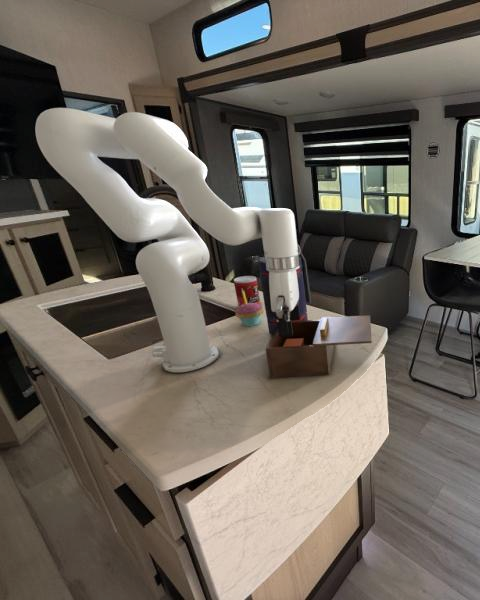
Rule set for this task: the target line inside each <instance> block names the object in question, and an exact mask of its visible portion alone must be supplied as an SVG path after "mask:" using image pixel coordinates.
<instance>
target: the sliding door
mask: <svg viewBox="0 0 480 600" xmlns="http://www.w3.org/2000/svg"><path fill="white" fill-rule="evenodd" d="M319 320H320V321H319V325H318V328H317V331H316V334H315V337H314V341H313V344H312V345H313V346H326V345H334V346H345V345H360V344H372V343H373V341H372V340H373V339H372V323H371V315H370V314H368V315H346V316H322V317H320V318H319Z"/></svg>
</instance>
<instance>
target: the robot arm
mask: <svg viewBox="0 0 480 600" xmlns="http://www.w3.org/2000/svg"><path fill="white" fill-rule="evenodd" d="M34 129H35V137H36V142H37V145H38V147H39V149H40V151H41V153H42V155H43V157H44V158H45V159H46V161H47V162H48V163H49V165H50V166H51V167H52V168H53V169H54V170H55V171H56V172H57V173H58V174H59V175H60V176H61V177H62V178H63V179H64V180H66V181H67V183H69V185H71V187H73V188H74V189H75V191H76V192H77V193H79V195H81V197H82V198H83V199H84V201H85V202H86V203H87V204H88V205H89V207H90V208H91V209H93V211H94V212H95V214H97V215H98V217H99V218H100V219H101V220H102V221H103V222H104V223H105V224H106V225H107V227H108V228H109V229H110V231H112V233H114V234H115V235H116V236H117V238H119V239H121V240H122V241H125V242H127V243H143V242H146V241H152V240H157V241H156V242H153V243H149V244H148V245H146V246H144V247H143V248H141V249H140V250H139V251H138V253H137V255H136V258H135V266H136V270H137V273H138V274H139V276H140V278H141V279H142V281H143V283H144V285H145V286H146V289H147V291H148V294H149V296H150V299H151V302H152V306H153V309H154V312H155V315H156V319H157V322H158V325H159V329H160V333H161V337H162V340H163V343H164V346H162V345H161V346H160V345H159V346H154V347H153V349H152V357H153V358H163V359H164V360H163V362H162V367H163V369H164V370H165V372H169V373H175V374H176V373H178V374H179V373H188V372H193V371H196V370H199V369H202V368H205V367H206V366H208V365H210V364H212V363H213V362H215V361H216V360H217V358H218V357H219V355H220V352H219V349H218V347H216V346H214V345H211V343H210V338H209V333H208V329H207V325H206V321H205V317H204V313H203V308H202V304H201V299H200V296H199V293H198V290H197V288H196V287H195V285H194V284H193V283H192V281H191V279H190V278H189V276H191V275H192V274H194V273H197V272H199V271H201V270H203V269H204V268H206V267H207V266H208V265H209V262H210V258H211V257H210V251H209V248H208V246H207V244H206V243H205V242H204V240H203V239H202V238H201V236H200V235H199V234H198V232H197V231H196V230H195V229H194V227H192V225H191V224H190V223H189V221H188V220H187V219H186V218H185V216H184V215H183V214H182V212H181V211H180V210H179V209H178V208H177V207H176V206H175V205H173V204H171V203H170V202H168V201H167V200H163V199H161V198H156V197H148V198H147V197H146V198H145V197H144V198H143V197H140V196H139V195H138V194H137V193H136V192H135V191H134V190H133V188H131V186H129V184H128V183H127V181H126V180H125V179H124V178H123V177H122V176H121V174H119V173H118V172H117V171H115V170H114V169H113V168H112V167H110V166H109V165H107V164H106V163H105V162H103V161H102V160H101V159H100V158H111V159H122V160H138V161H139V162H141V163H142V164H143V165H144V166H146V167H147V168H148V169H149V170H150V171H151V172H152V173H154V174H155V175H156V176H158V177H159V179H161V180H162V181H164V182H165V183H166V184H167V185H168V186H169V187H171V188H172V189H173V190H174V191H175V192H176V196H177V198H178V200H179V203H180V204H181V206H182V207H183V209H184V211H185V212H186V214H187V215H188V216H189V217H190V219H191V220H192V221H193V222H194V223H195V224H196V225H198V226H199V227H201V228H202V229H203V230H204V231H205V232H206V233H208V234H209V235H210V236H212V237H213V238H214V239H215V240H217V241H218V242H221V243H222V244H225V245H227V246H239V245H243V244H245V243H248V242H251V241H254V240H258V239H261V240H262V247H263V252H264V253H263V254H264V257H265V262H266V269H267V271H270V272H269V288H270V300H271V310H272V311H273V312H275V311H276V316H277V317H276V318H277V325H278V333H279V336H280V337H288V336H292V335H293V330H292V322H291V320H300V310H299V306H297V305H299V302H298V300H299V289H298V280H297V272H296V270H297V269H299V268H300V267H299V256H298V247H297V246H298V245H297V244H298V238H297V237H298V236H297V229H296V219H295V214H294V212H293V211H292V210H291V209H289V208H283V207H277V208H261V207H255V206H240V207H233V208H232V207H230V205H228V204H227V203H226V202H225V201H223V199H221V198H220V197H219V196H218V195H216V194H215V193H214V192H213V190H212V189H211V188H210V187H209V186H208V183H207V182H206V177H207V175H208V167H207V166H206V164H205V163H204V162H203V161H202V160H201V159H200V158H199V157H198V156H196V155H195V154H194V153H193V152H192V151H190V150H189V141H188V139H187V136H186V134H185V133H184V131H183V130H182V129H181V128H180V127H179V126H178V125H176V124H175V123H174V122H172V121H170V120H168V119H165V118H161V117H158V116H154V115H150V114H146V113H143V112H138V111H129V112H123V113H122V114H121V115H119V116H118V117H111V116H106V115H103V114H99V113H94V112H90V111H85V110H81V109H77V108H71V107H70V108H69V107H53V108H49V109H46V110H44V111H42V112H41V113H40V114H39V115H38V116H37V118H36V121H35V128H34ZM99 157H100V158H99ZM283 308H287V309H283ZM283 312H287V317H286V315H285V314H283Z"/></svg>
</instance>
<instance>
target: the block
mask: <svg viewBox="0 0 480 600" xmlns="http://www.w3.org/2000/svg"><path fill="white" fill-rule="evenodd" d="M288 346H305V345H304V338H298V339H286V341H285V343H284V345H283V347H288Z"/></svg>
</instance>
